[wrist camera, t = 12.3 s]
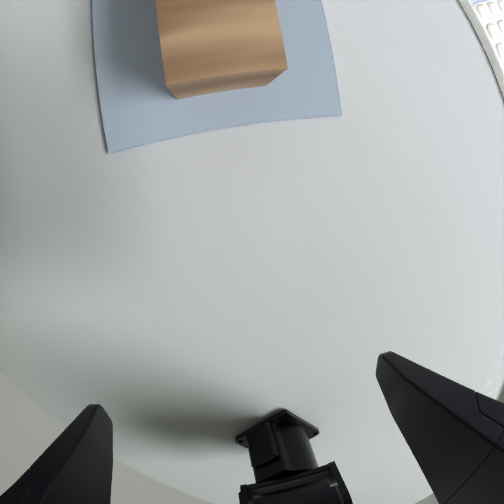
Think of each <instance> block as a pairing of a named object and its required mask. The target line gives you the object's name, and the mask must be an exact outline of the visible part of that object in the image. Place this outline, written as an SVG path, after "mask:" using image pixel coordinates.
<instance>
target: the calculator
mask: <svg viewBox="0 0 504 504" xmlns="http://www.w3.org/2000/svg"><path fill="white" fill-rule="evenodd" d="M459 2H460V4H461V6H462V7H463V9H464V11H465V12H466V14H467V16H468V18H469V20H470V22H471V23H472V25H473V27H474V29H475V31H476V33H477V35H478V37H479V39H480V41H481V43H482V46H483V48H484V50H485V52H486V54H487V57H488V59H489V61H490V64H491V66H492V68H493V71H494V73H495V76H496V79H497V81H498V84H499V87H500V89H501V92H502V95H503V98H504V0H459ZM494 39H495V40H494Z"/></svg>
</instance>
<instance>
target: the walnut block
mask: <svg viewBox="0 0 504 504" xmlns="http://www.w3.org/2000/svg"><path fill="white" fill-rule="evenodd" d="M155 1H156V11H157V20H158V28H159V37H160V45H161V52H162V60H163V67H164V74H165V81H166V86H167V87H168V88H169V90H170V91H171V92H172V93H173V95H174V96H175V97H176V98H177V99H178V100H179V99H184V98H189V97H194V96H199V95H205V94H211V93H217V92H223V91H230V90H237V89H244V88H253V87H262V86H266V85H268V84H269V83H270V82H271V81H273V80H274V79H275V78H276V77H278V76H279V75H280V74H281V73H283V72H284V71H285V70H287V69H288V66H287V60H286V54H285V49H284V43H283V38H282V33H281V27H280V22H279V17H278V12H277V8H276V3H275V0H155Z"/></svg>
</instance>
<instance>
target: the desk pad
mask: <svg viewBox="0 0 504 504" xmlns="http://www.w3.org/2000/svg"><path fill="white" fill-rule="evenodd" d="M275 3H276V8H277V12H278V17H279V22H280V27H281V33H282V38H283V43H284V49H285V54H286V60H287V66H288V69H287V70H285V71H284V72H283V73H281V74H280V75H279V76H278V77H276V78H275V79H274V80H273V81H271V82H270V83H269V84H268V85H266V86H262V87H253V88H244V89H237V90H230V91H223V92H217V93H211V94H205V95H199V96H194V97H189V98H184V99H179V100H178V99H177V98H176V97H175V96H174V95H173V93H172V92H171V91H170V90H169V88H168V87H167V86H166V81H165V74H164V67H163V60H162V52H161V45H160V37H159V28H158V20H157V11H156V1H155V0H92V17H93V38H94V52H95V64H96V74H97V83H98V91H99V99H100V106H101V113H102V119H103V126H104V132H105V137H106V143H107V148H108V154H110V153H114V152H118V151H121V150H125V149H129V148H132V147H136V146H140V145H144V144H148V143H153V142H157V141H161V140H166V139H170V138H175V137H180V136H184V135H189V134H195V133H200V132H205V131H211V130H217V129H223V128H229V127H235V126H242V125H249V124H257V123H265V122H273V121H282V120H292V119H303V118H316V117H333V116H342V111H341V104H340V96H339V89H338V83H337V76H336V70H335V64H334V58H333V53H332V48H331V42H330V37H329V32H328V27H327V23H326V18H325V14H324V9H323V5H322V1H321V0H275Z"/></svg>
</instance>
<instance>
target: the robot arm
mask: <svg viewBox="0 0 504 504" xmlns="http://www.w3.org/2000/svg"><path fill="white" fill-rule="evenodd" d="M376 378H377V380H378V383H379V385H380V388H381V390H382V392H383V395H384V397H385V400H386V402H387V405H388V407H389V409H390V412H391V414H392V416H393V418H394V420H395V422H396V424H397V425H398V427H399V429H400V431H401V433H402V434H403V436H404V438H405V440H406V442H407V444H408V445H409V447H410V449H411V451H412V453H413V455H414V456H415V458H416V460H417V462H418V464H419V466H420V468H421V470H422V472H423V473H424V475H425V477H426V479H427V481H428V483H429V485H430V487H431V489H432V491H433V493H434V495H435V497H436V499H437V501H438V503H439V504H504V403H503V402H500V401H497V400H495V399H492V398H490V397H487V396H485V395H483V394H481V393H478V392H475V391H474V390H472V389H470V388H467V387H465V386H463V385H461V384H459V383H457V382H454V381H452V380H450V379H448V378H446V377H444V376H442V375H440V374H437V373H435V372H433V371H431V370H429V369H427V368H425V367H423V366H421V365H419V364H416V363H414V362H412V361H410V360H408V359H406V358H404V357H402V356H400V355H398V354H396V353H394V352H391V351H388V352H386V353H383V354H380V355H379V356H378V361H377V368H376ZM318 434H319V430H318V428H316V427H314V426H312V425H311V424H309V423H307V422H306V421H304V420H302V419H301V418H299V417H297V416H296V415H294V414H292V413H291V412H289V411H287V410H283V411H281V412H279V413H277V414H276V415H274V416H272V417H271V418H269V419H267V420H266V421H264V422H262V423H260V424H259V425H257V426H255V427H253V428H252V429H250V430H248V431H246V432H244V433H243V434H241V435H239V436H237V437H236V438H235V442H236V443H237V444H239V445H242V446H244V447H246V448H248V450H249V456H250V461H251V466H252V467H253V470H254V476H255V481H256V483H255V484H250V485H246V484H245V485H240V489H241V492H239V493H238V494H239V500H240V504H353V503H352V500H351V497H350V494H349V492H348V490H347V487H346V485H345V483H344V481H343V479H342V477H341V475H340V472H339V470H338V468H337V466H336V464H335V462H334V461H333V462H330V463H328V464H327V465H324V466H321V467H318V464H317V461H316V458H315V455H314V453H313V450H312V447H311V444H310V441H309V439H311V438H313V437H315V436H316V435H318ZM112 467H113V425H112V421H111V419H110V417H109V416H108V414H107V413H106V411H105V410H104V408H103V407H102V406H101V405H100V404H90V405H88V406H87V407H86V408H85V409H84V410H83V411H82V412H81V413H80V414H79V415H78V416H77V417H76V418H75V420H74V421H73V422H72V423H71V424H70V425H69V426H68V427H67V428H66V429H65V430H64V431H63V432H62V434H60V435H59V436H58V438H57V439H56V440H55V441H54V442H53V443H52V444H51V445H50V446H49V447H48V448H47V449H46V450H45V452H44V453H43V454H42V455H41V456H40V457H39V458H38V459H37V460H36V461H35V462H34V463H33V464H32V465H31V467H30V468H29V469H28V470H27V471H26V472H25V473H24V474H23V475H22V476H21V477H20V478H19V479H18V480H17V481H16V482H15V483H14V484H13V485H12V486H11V487H10V488H9V489H8V490H7V491H5V492H4V493H3V494H2V495H1V496H0V504H110V497H111V482H112ZM330 485H332V486H330Z"/></svg>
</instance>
